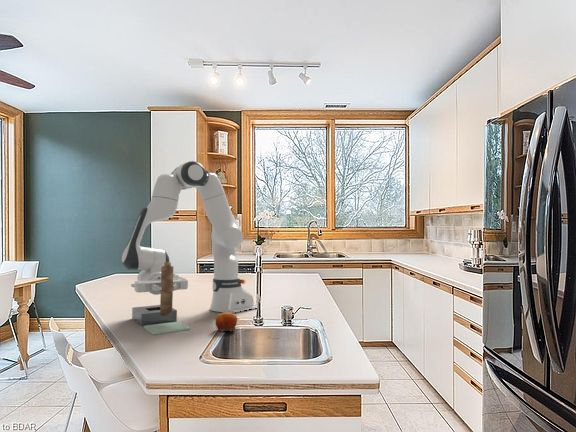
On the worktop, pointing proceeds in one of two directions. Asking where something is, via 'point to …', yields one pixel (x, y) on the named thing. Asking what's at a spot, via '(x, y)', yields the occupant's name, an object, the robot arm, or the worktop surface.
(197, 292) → the worktop surface
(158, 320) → the housing
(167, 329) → the mat
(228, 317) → the fruit
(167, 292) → the bottle
